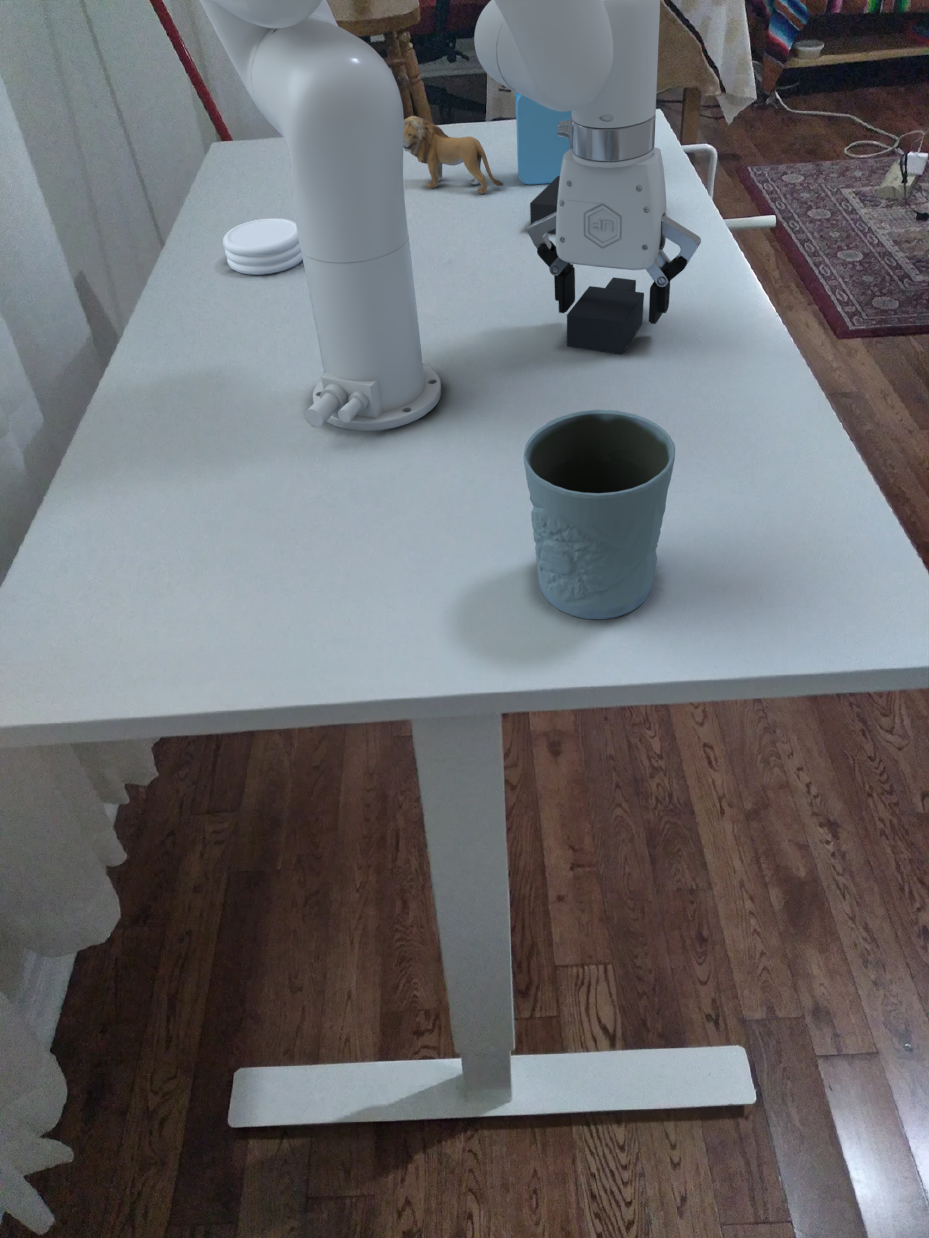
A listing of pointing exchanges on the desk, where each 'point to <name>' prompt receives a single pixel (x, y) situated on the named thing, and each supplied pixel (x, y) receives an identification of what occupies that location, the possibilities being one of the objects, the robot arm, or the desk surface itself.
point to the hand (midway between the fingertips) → (610, 312)
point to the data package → (539, 141)
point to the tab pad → (606, 317)
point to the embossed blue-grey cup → (598, 509)
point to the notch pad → (545, 202)
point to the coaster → (263, 246)
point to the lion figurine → (445, 151)
